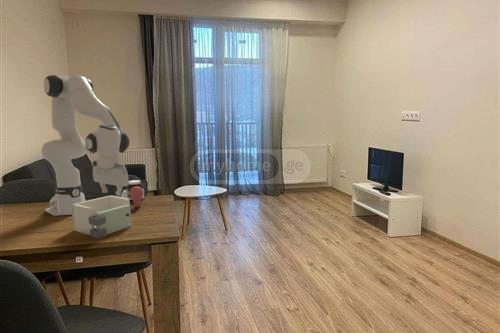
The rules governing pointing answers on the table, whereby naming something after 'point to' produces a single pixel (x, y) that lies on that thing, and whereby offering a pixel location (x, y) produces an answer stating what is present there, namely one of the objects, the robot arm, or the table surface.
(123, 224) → the door
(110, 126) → the robot arm
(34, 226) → the table surface
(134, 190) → the light bulb
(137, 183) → the spread jar
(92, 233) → the cabinet
